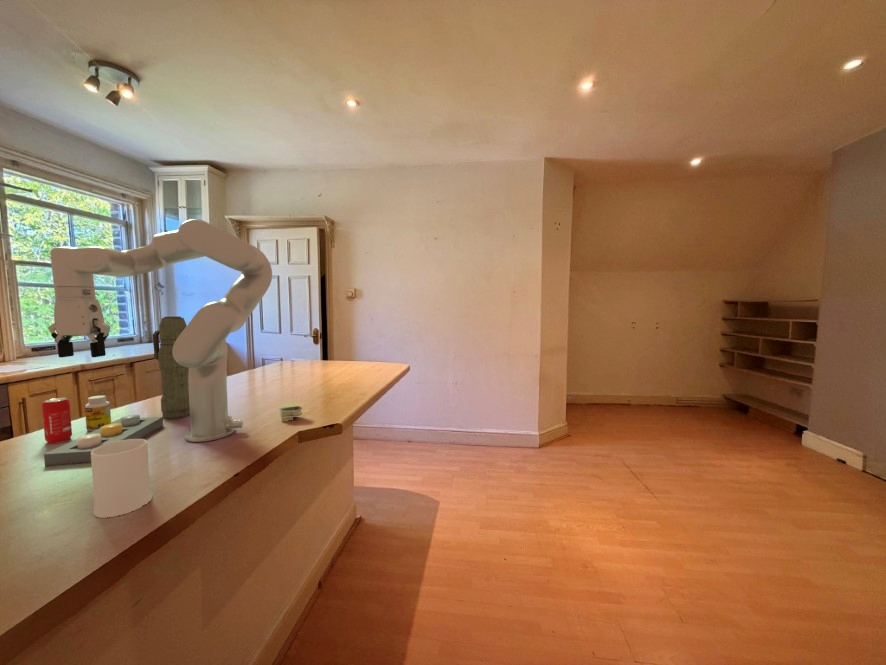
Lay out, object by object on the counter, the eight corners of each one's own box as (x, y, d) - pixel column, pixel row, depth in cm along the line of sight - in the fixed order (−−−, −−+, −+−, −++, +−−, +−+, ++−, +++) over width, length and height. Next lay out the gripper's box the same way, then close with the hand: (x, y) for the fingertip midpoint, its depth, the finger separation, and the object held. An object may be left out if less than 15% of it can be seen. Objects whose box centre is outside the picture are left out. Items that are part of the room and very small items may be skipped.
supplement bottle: (81, 432, 105) (79, 399, 104) (95, 426, 111) (93, 395, 110) (103, 431, 107) (101, 398, 106) (115, 425, 112) (113, 394, 111)
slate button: (143, 424, 108) (143, 414, 108) (134, 429, 104) (133, 418, 103) (127, 425, 107) (126, 415, 107) (117, 430, 103) (116, 419, 102)
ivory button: (106, 445, 92) (105, 432, 92) (93, 452, 88) (92, 439, 88) (86, 446, 91) (85, 434, 91) (72, 453, 87) (71, 440, 87)
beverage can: (54, 445, 96) (50, 402, 95) (40, 443, 97) (36, 401, 96) (77, 438, 101) (74, 398, 100) (63, 436, 102) (60, 396, 101)
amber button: (126, 434, 100) (125, 422, 100) (115, 440, 96) (114, 428, 96) (108, 435, 99) (107, 423, 99) (96, 441, 95) (96, 429, 95)
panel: (163, 425, 112) (162, 416, 111) (103, 461, 86) (102, 450, 86) (119, 428, 109) (118, 419, 109) (44, 466, 84) (43, 454, 83)
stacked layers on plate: (276, 426, 113) (275, 410, 112) (274, 418, 121) (273, 403, 120) (308, 421, 118) (308, 406, 117) (304, 414, 125) (304, 399, 125)
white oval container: (108, 492, 73) (104, 437, 72) (159, 482, 77) (156, 430, 76) (85, 523, 62) (80, 459, 61) (146, 510, 67) (142, 450, 66)
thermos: (163, 413, 124) (157, 316, 121) (201, 410, 128) (196, 316, 125) (151, 421, 116) (145, 317, 113) (192, 417, 120) (187, 317, 117)
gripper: (118, 294, 96) (125, 354, 98) (62, 295, 98) (69, 354, 99) (89, 293, 89) (96, 358, 90) (29, 294, 90) (37, 359, 92)
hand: (82, 356), depth 95 cm, fingers open, 9 cm apart
